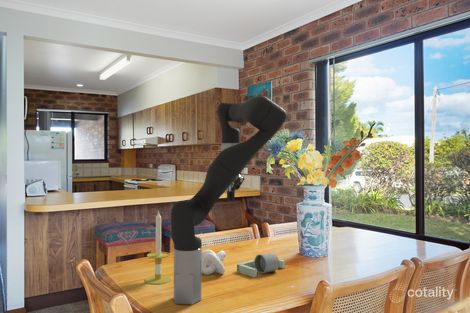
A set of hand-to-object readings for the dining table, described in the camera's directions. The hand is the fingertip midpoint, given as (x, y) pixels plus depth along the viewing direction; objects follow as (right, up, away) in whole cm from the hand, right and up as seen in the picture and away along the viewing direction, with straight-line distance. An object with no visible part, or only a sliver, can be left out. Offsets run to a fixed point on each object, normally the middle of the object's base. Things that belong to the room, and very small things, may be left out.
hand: (230, 200), depth 138 cm
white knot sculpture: (-7, -31, +11) cm, 34 cm away
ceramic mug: (+14, -31, +14) cm, 37 cm away
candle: (-28, -31, +2) cm, 42 cm away
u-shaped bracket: (+13, -31, +16) cm, 37 cm away
